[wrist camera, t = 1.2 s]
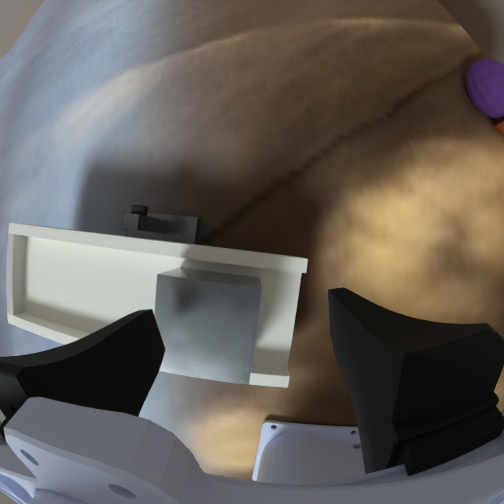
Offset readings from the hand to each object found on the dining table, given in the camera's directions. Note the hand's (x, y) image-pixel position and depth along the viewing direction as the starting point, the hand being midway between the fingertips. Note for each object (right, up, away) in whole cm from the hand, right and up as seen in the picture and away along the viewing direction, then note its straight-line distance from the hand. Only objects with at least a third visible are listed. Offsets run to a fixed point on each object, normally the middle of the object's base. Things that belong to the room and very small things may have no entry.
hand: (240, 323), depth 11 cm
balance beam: (-8, 0, +7) cm, 11 cm away
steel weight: (-2, -1, +7) cm, 7 cm away
